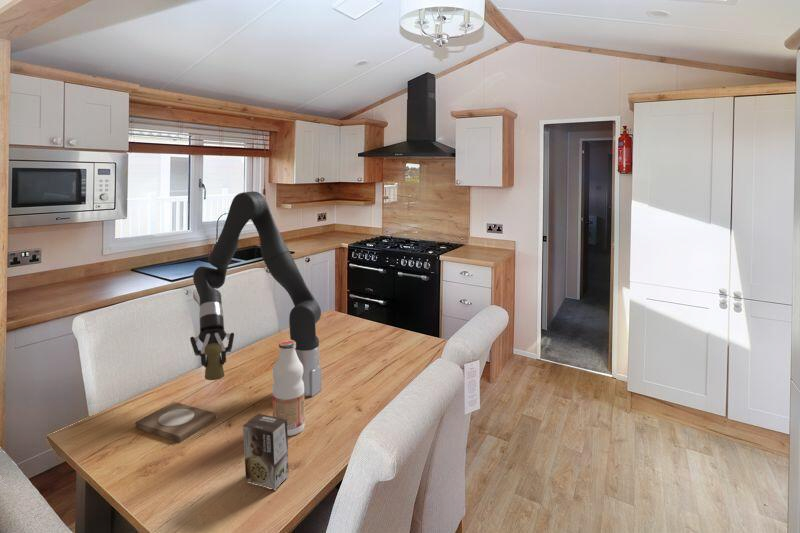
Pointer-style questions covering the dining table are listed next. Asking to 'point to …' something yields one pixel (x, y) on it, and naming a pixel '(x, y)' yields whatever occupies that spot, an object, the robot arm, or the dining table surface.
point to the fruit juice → (289, 388)
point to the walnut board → (176, 421)
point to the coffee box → (266, 450)
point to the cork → (213, 362)
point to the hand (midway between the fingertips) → (214, 364)
